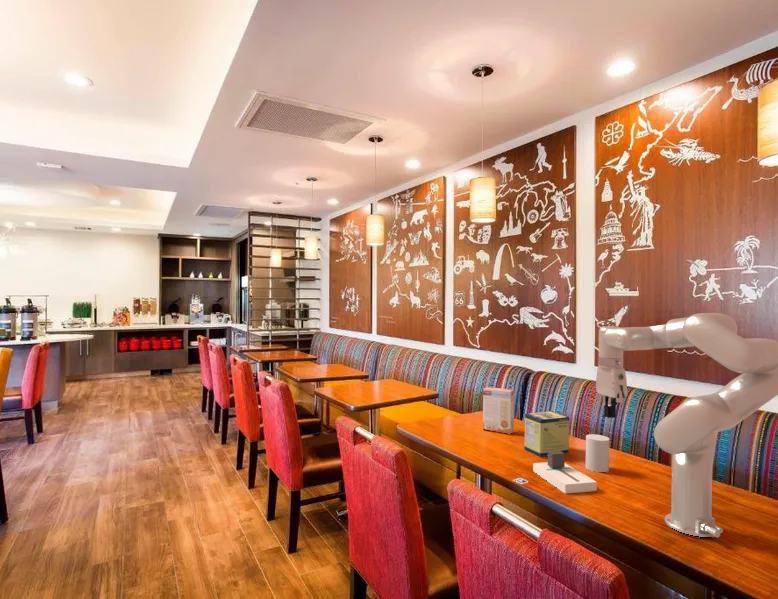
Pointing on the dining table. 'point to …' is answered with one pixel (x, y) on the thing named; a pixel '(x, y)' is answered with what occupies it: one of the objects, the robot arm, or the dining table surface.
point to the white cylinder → (597, 453)
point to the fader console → (565, 478)
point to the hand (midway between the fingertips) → (609, 416)
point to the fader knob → (556, 459)
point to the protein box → (546, 433)
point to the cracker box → (498, 410)
